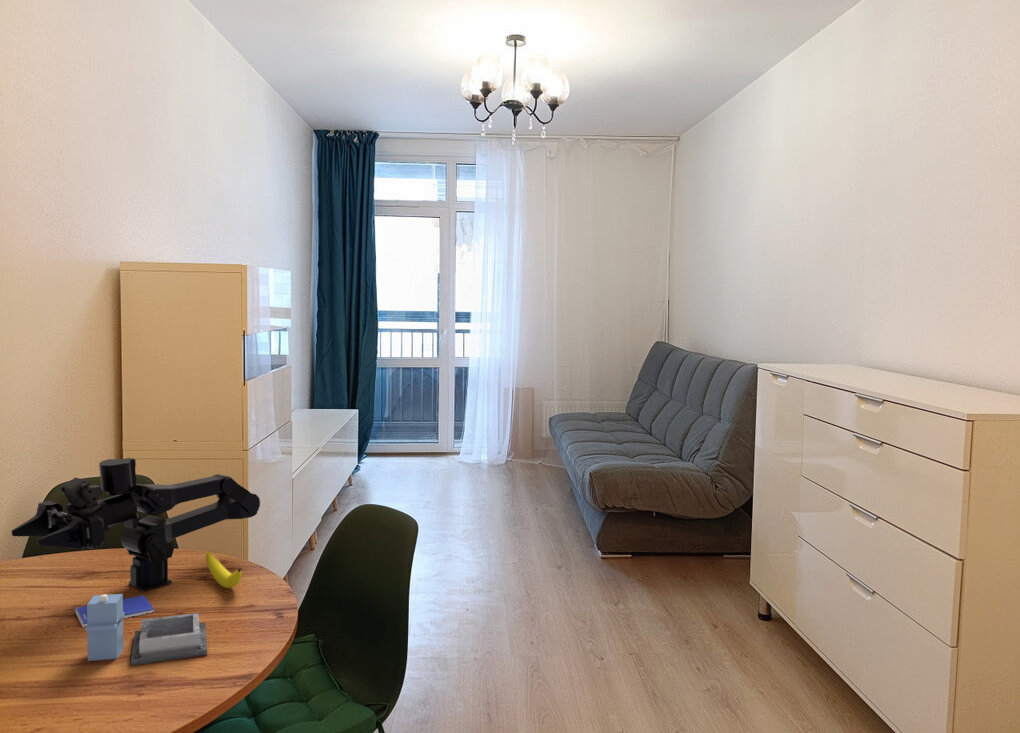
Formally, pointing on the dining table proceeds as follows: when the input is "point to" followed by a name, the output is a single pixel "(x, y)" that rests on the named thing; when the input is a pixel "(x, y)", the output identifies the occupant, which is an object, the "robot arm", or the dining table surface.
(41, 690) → the dining table surface
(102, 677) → the dining table surface
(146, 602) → the hard drive
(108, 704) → the dining table surface
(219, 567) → the banana
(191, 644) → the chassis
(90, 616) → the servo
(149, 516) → the robot arm
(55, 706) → the dining table surface
